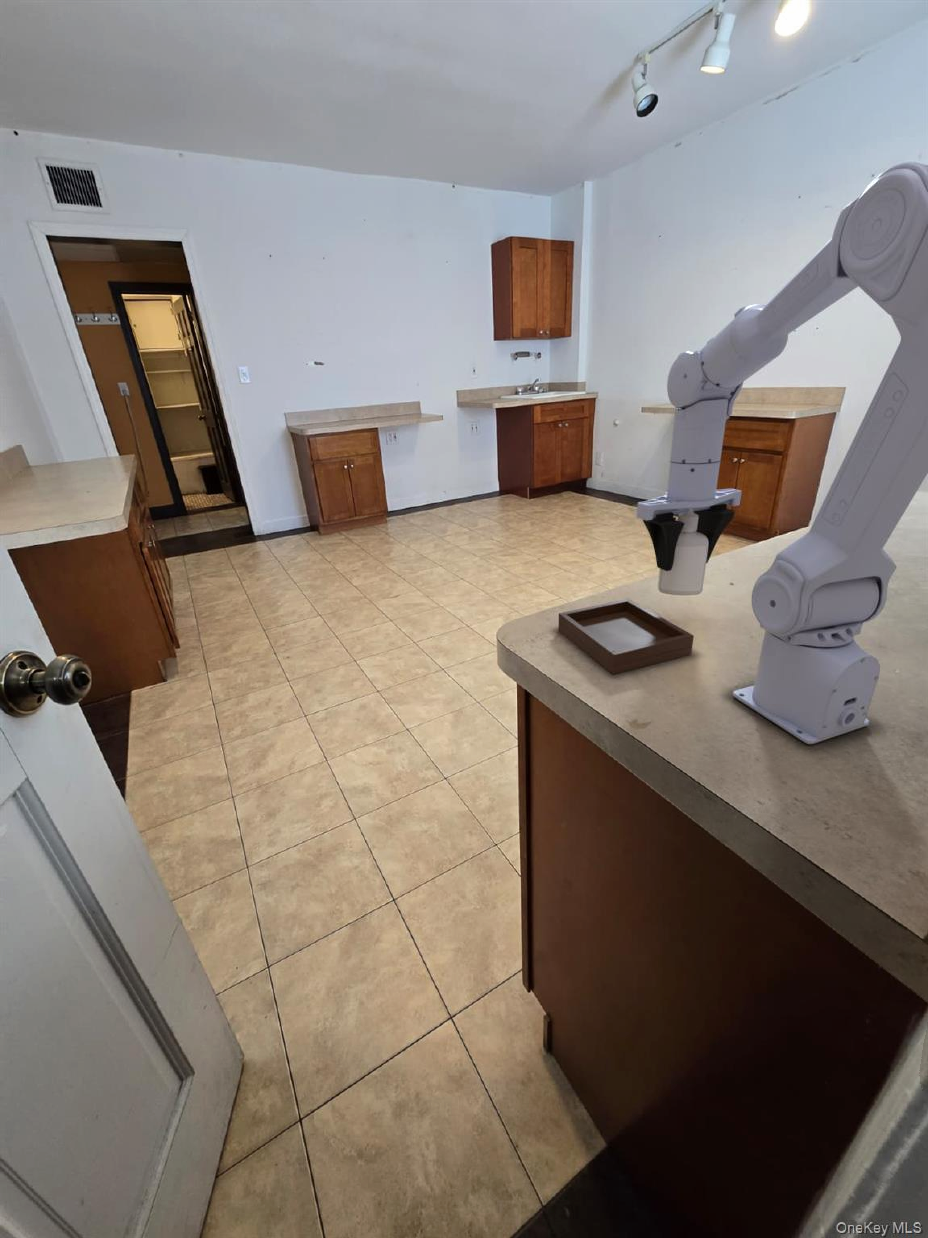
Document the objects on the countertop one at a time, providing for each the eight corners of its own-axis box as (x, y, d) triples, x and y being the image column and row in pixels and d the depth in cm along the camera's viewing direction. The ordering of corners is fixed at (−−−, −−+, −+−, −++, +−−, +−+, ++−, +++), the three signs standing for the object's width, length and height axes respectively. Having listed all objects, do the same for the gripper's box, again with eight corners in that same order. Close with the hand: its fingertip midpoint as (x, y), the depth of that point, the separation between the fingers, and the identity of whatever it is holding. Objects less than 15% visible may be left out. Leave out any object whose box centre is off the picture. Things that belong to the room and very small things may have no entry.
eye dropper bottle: (692, 601, 67) (704, 510, 62) (652, 591, 71) (660, 505, 66) (706, 591, 70) (719, 503, 65) (667, 582, 74) (676, 499, 69)
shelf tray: (691, 654, 65) (694, 635, 64) (612, 674, 62) (614, 655, 61) (627, 615, 77) (628, 598, 76) (558, 630, 74) (558, 613, 73)
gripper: (717, 451, 69) (704, 549, 74) (625, 463, 65) (618, 565, 71) (761, 456, 63) (743, 562, 68) (662, 470, 59) (651, 581, 64)
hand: (682, 565), depth 69 cm, fingers closed on eye dropper bottle, 5 cm apart
